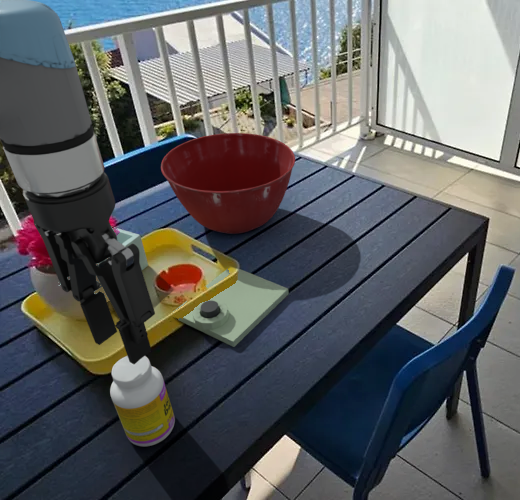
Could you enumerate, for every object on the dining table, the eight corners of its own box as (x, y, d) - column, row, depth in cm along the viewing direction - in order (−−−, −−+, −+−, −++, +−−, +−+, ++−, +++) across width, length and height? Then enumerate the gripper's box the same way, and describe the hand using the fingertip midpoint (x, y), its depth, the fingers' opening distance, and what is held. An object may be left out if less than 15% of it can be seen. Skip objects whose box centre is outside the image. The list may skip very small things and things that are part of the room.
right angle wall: (102, 251, 106) (93, 221, 101) (148, 265, 102) (140, 235, 98) (56, 284, 97) (43, 253, 92) (104, 301, 93) (93, 269, 89)
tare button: (211, 320, 86) (209, 314, 85) (198, 314, 87) (196, 308, 86) (222, 310, 88) (221, 304, 87) (210, 304, 89) (208, 298, 88)
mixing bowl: (322, 213, 120) (321, 154, 111) (233, 271, 101) (223, 205, 92) (240, 178, 133) (234, 123, 124) (148, 223, 115) (132, 162, 106)
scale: (232, 349, 84) (230, 336, 82) (171, 319, 90) (168, 307, 88) (288, 294, 96) (287, 282, 94) (232, 270, 101) (230, 259, 99)
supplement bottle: (179, 438, 70) (161, 378, 63) (129, 455, 68) (104, 395, 60) (172, 402, 75) (154, 342, 68) (125, 417, 73) (101, 357, 65)
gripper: (163, 187, 47) (200, 355, 61) (40, 144, 54) (98, 303, 68) (95, 224, 42) (153, 399, 56) (-31, 171, 49) (48, 337, 63)
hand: (123, 346), depth 62 cm, fingers open, 5 cm apart
